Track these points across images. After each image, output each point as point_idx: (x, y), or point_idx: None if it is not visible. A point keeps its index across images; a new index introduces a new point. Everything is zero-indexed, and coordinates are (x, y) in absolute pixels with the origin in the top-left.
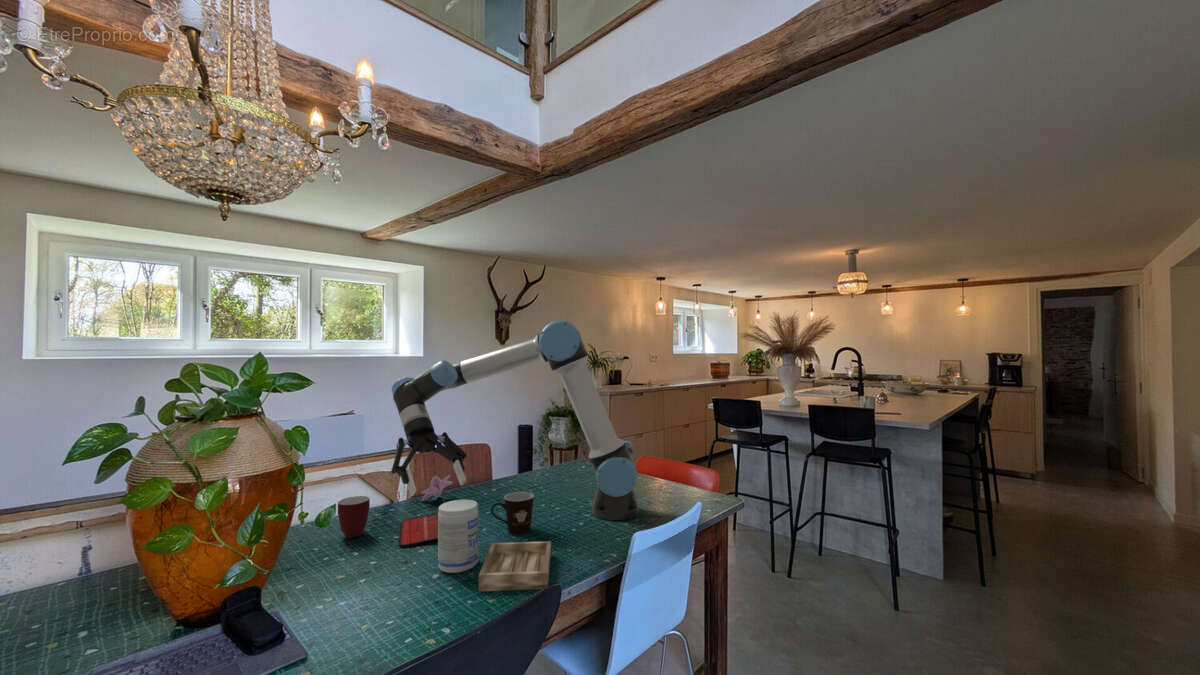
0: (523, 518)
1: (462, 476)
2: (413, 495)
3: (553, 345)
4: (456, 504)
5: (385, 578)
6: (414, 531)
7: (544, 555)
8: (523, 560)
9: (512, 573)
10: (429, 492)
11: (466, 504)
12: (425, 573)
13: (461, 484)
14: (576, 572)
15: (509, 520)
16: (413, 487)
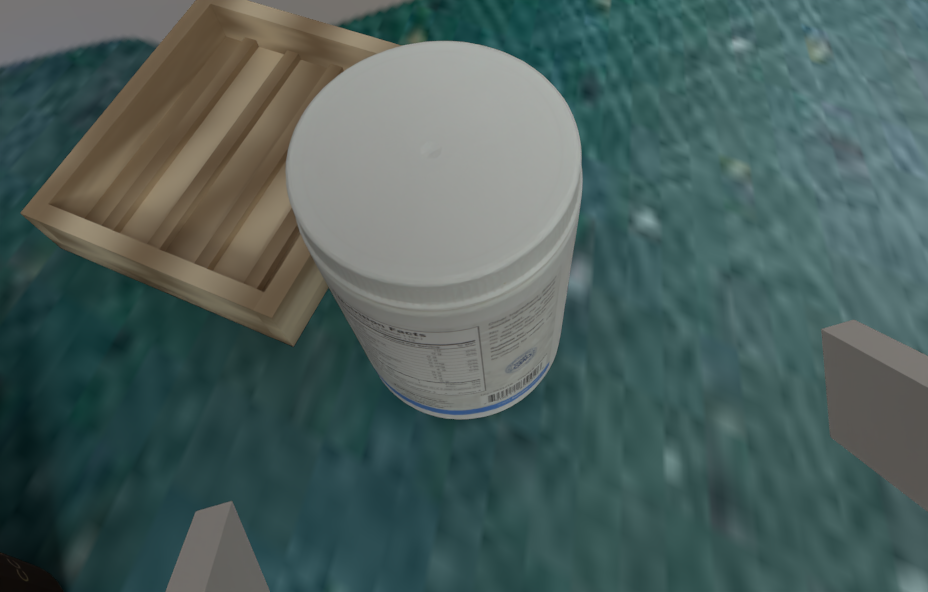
0: None
1: (220, 534)
2: (831, 430)
3: None
4: (441, 166)
5: (806, 350)
6: None
7: (99, 211)
8: (205, 184)
9: (314, 24)
10: None
11: (373, 136)
12: (619, 318)
13: (262, 583)
14: (78, 88)
15: None
16: (871, 338)
